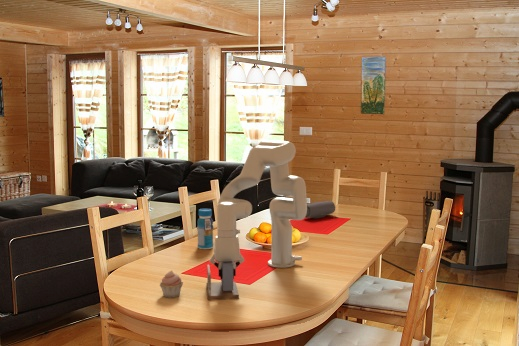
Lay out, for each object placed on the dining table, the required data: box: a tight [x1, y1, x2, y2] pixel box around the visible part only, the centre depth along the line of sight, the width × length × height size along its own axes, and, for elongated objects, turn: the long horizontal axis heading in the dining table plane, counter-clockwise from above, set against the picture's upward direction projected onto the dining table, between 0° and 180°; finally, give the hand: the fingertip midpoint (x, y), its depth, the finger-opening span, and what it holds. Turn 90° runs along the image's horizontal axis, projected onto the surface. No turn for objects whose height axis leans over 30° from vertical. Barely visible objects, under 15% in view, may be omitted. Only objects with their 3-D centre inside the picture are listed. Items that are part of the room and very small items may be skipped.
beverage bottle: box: [196, 208, 214, 250], centre depth 298 cm, size 8×8×20 cm
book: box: [220, 262, 234, 291], centre depth 232 cm, size 4×12×10 cm, turn 7°
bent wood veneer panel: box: [205, 264, 240, 301], centre depth 232 cm, size 12×16×10 cm
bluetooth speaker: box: [305, 200, 336, 220], centre depth 374 cm, size 23×9×10 cm, turn 130°
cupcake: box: [159, 270, 184, 299], centre depth 228 cm, size 9×9×10 cm
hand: (227, 277), depth 232 cm, fingers closed on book, 4 cm apart
